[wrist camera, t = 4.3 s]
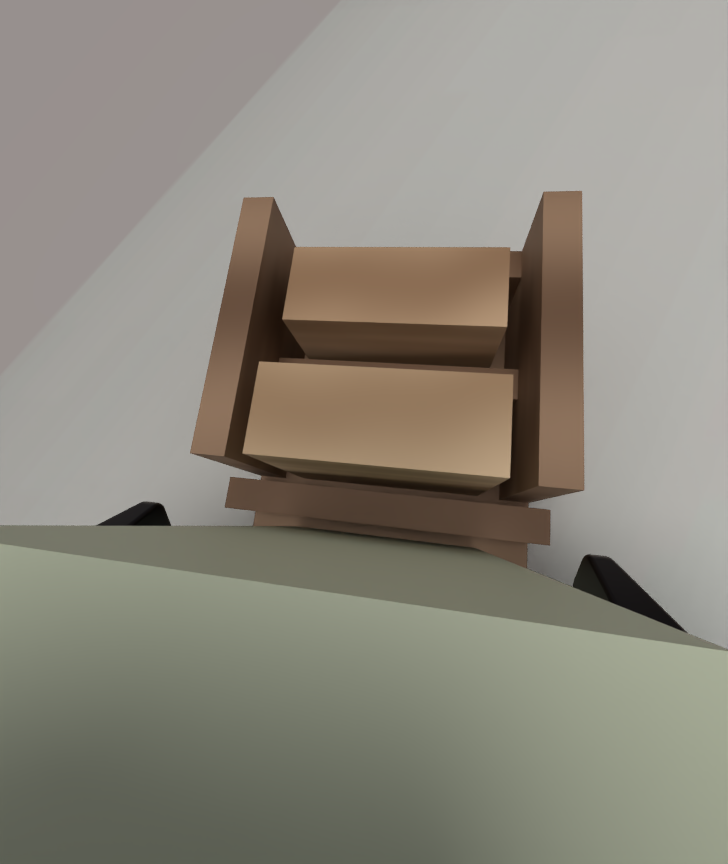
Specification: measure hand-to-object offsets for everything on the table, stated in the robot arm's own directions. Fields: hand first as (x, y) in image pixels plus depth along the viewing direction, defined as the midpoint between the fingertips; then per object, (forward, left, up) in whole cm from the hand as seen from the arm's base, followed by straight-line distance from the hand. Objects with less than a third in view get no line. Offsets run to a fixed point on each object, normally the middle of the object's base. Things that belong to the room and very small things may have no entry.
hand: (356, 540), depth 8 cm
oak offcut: (+3, -1, -6) cm, 7 cm away
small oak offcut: (+7, -3, -6) cm, 10 cm away
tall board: (-1, +1, -6) cm, 6 cm away
